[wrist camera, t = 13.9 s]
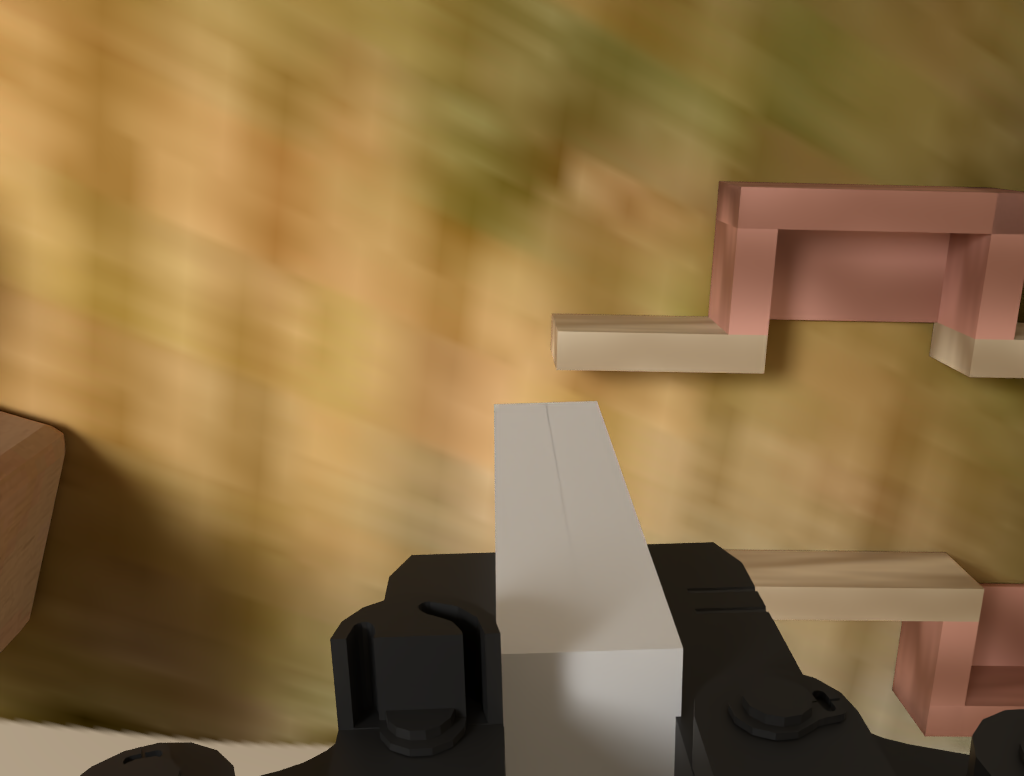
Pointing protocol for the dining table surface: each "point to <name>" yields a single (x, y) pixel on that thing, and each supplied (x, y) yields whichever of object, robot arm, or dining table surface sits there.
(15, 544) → the wooden block
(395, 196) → the dining table surface
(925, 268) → the trap lane box
